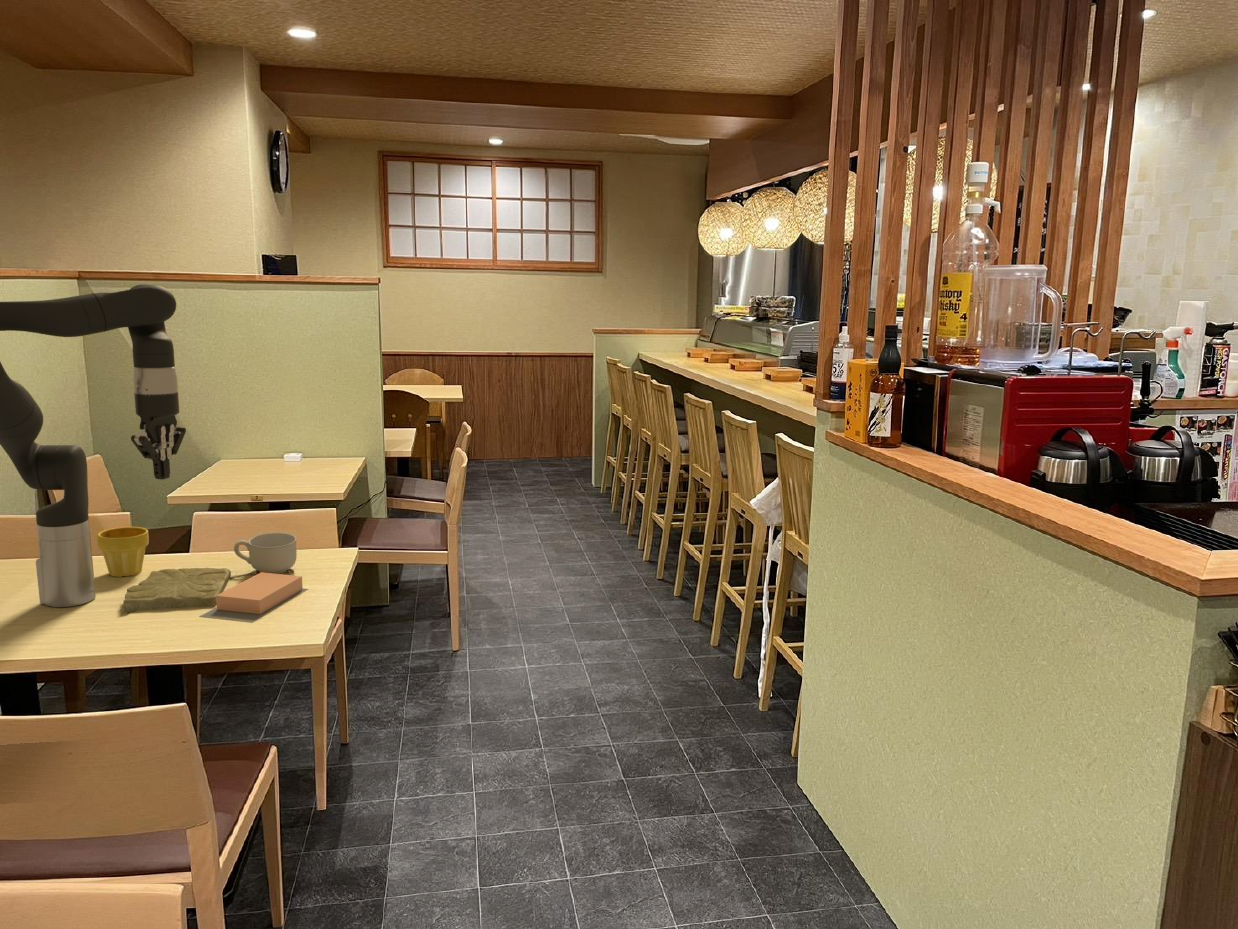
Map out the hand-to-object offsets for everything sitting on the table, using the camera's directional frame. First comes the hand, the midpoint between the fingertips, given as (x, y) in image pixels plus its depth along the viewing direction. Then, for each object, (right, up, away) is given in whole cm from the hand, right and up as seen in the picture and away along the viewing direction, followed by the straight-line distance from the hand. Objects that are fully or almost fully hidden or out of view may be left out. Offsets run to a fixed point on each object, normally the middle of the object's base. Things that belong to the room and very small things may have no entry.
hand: (162, 478), depth 174 cm
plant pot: (-25, -23, +33) cm, 47 cm away
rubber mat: (+12, -27, +15) cm, 33 cm away
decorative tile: (-7, -26, +20) cm, 33 cm away
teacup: (+6, -23, +37) cm, 44 cm away
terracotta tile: (+11, -26, +9) cm, 30 cm away
